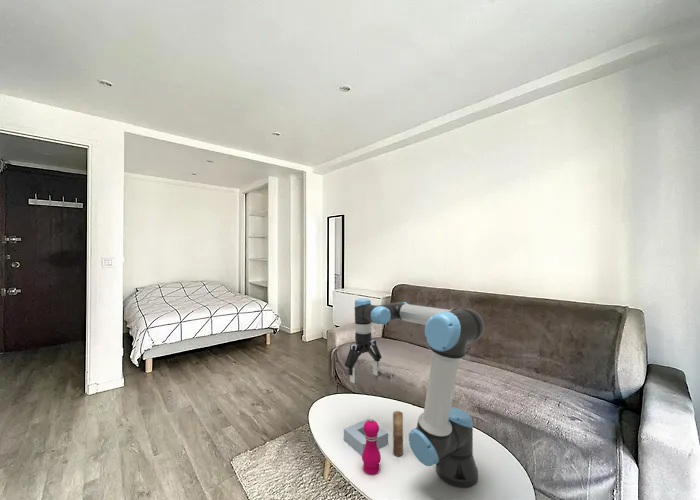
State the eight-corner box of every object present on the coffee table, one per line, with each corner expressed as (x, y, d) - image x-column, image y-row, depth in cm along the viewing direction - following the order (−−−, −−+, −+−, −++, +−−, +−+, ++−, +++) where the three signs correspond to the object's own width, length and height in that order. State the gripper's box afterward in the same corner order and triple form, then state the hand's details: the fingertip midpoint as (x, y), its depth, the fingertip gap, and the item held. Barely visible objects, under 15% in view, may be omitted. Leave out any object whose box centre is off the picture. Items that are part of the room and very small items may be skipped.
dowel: (405, 454, 127) (404, 414, 127) (398, 458, 124) (397, 417, 124) (398, 449, 130) (397, 410, 130) (391, 452, 128) (391, 413, 128)
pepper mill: (365, 477, 114) (365, 423, 114) (359, 464, 121) (359, 413, 121) (383, 473, 116) (383, 420, 116) (376, 461, 123) (376, 411, 123)
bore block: (388, 444, 133) (388, 432, 133) (363, 456, 125) (363, 444, 125) (368, 429, 145) (368, 418, 145) (343, 440, 136) (343, 428, 136)
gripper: (377, 326, 153) (378, 369, 152) (336, 335, 138) (337, 382, 137) (388, 329, 147) (389, 374, 146) (346, 338, 132) (346, 388, 131)
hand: (364, 378), depth 142 cm, fingers open, 13 cm apart
